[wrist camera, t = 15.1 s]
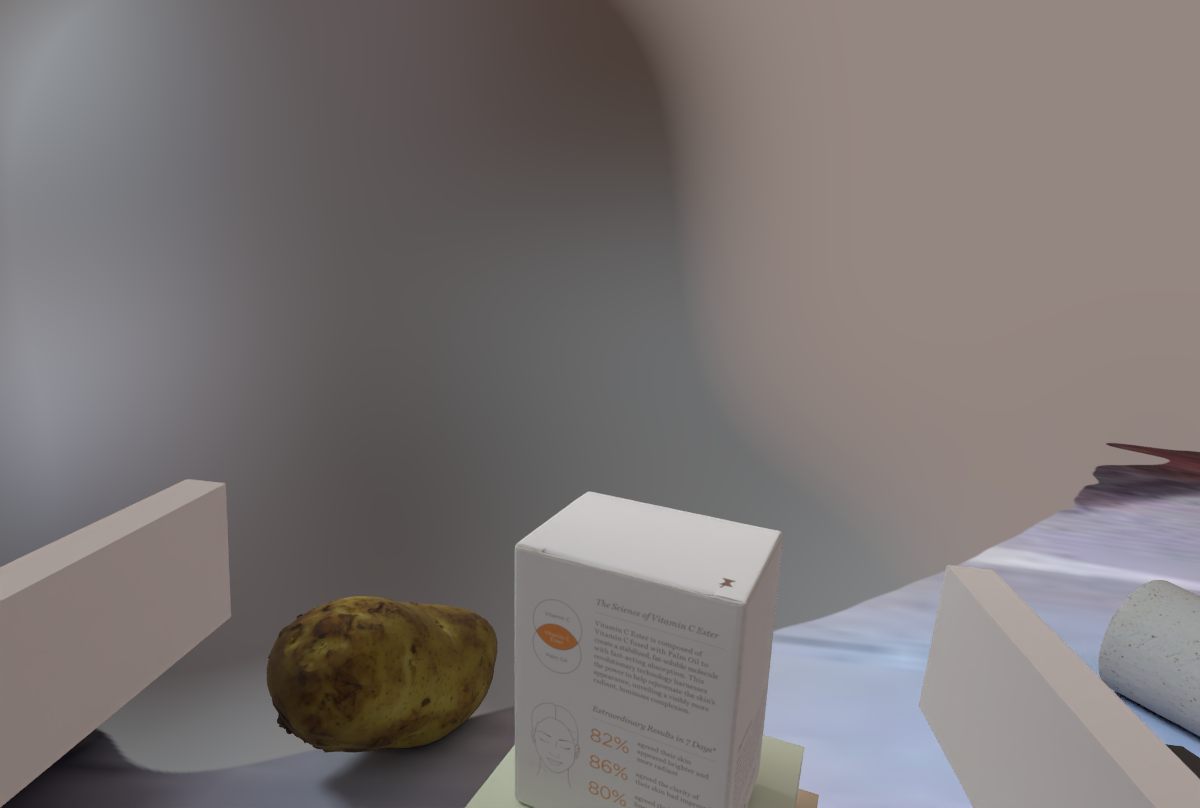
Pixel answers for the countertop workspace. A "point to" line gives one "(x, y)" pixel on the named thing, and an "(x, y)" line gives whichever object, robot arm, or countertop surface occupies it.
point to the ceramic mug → (1156, 652)
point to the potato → (379, 673)
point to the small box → (641, 657)
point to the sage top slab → (766, 804)
